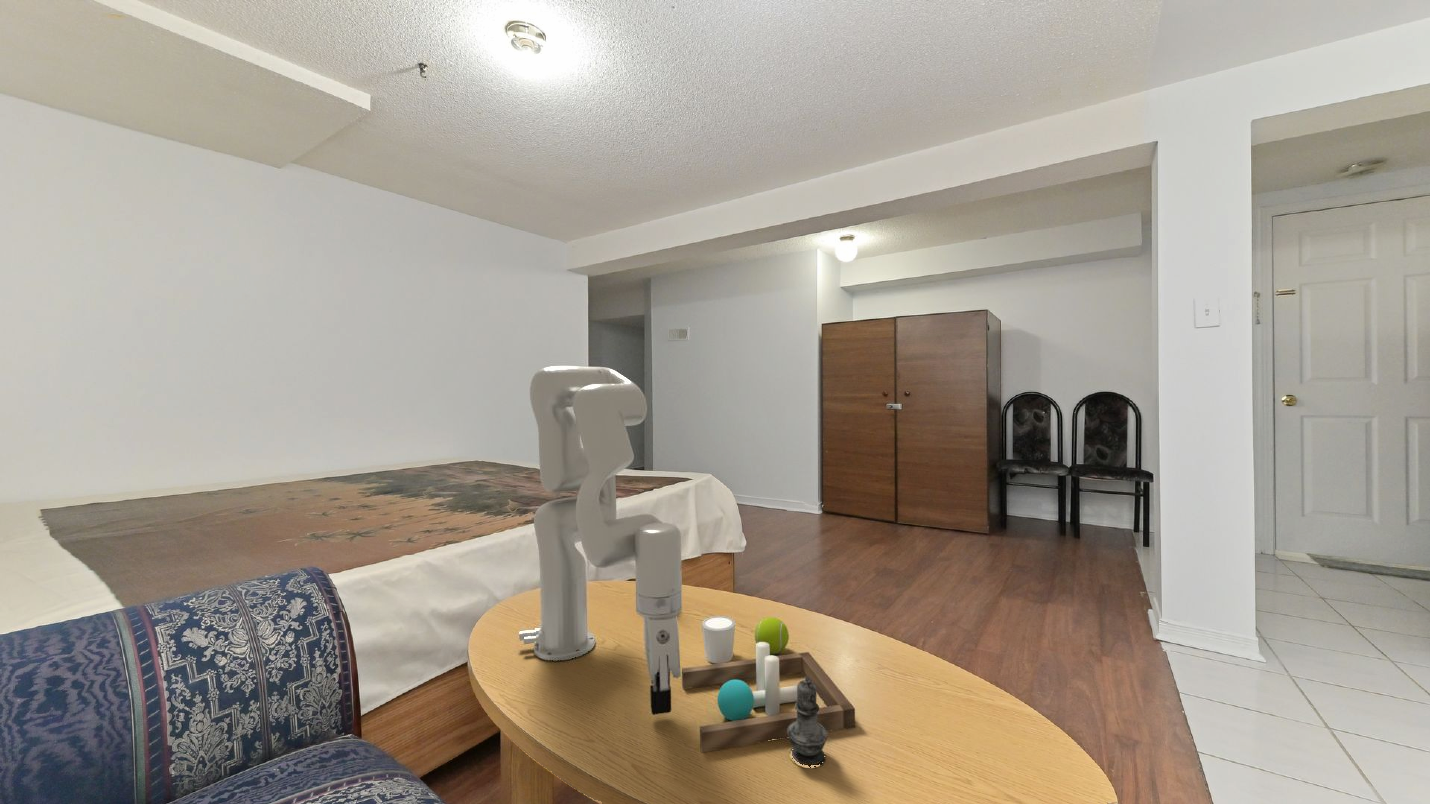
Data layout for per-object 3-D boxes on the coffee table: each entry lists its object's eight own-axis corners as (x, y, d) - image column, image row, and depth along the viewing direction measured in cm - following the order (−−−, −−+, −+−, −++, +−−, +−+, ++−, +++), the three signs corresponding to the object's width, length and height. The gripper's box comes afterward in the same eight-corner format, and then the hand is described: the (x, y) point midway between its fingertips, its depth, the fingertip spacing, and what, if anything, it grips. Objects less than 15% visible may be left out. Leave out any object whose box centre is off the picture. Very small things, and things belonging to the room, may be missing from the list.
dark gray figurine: (797, 774, 74) (796, 690, 74) (781, 747, 80) (780, 669, 80) (835, 765, 76) (834, 682, 76) (816, 739, 82) (815, 663, 82)
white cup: (732, 666, 104) (732, 631, 104) (698, 663, 105) (698, 628, 105) (738, 649, 111) (737, 616, 111) (706, 647, 112) (705, 614, 112)
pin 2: (767, 717, 88) (767, 663, 87) (763, 708, 90) (762, 656, 90) (781, 715, 88) (781, 661, 88) (776, 706, 90) (776, 654, 90)
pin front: (753, 697, 89) (803, 690, 91) (749, 688, 92) (798, 682, 94) (753, 711, 90) (803, 703, 92) (749, 701, 92) (798, 694, 94)
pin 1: (758, 700, 92) (758, 649, 92) (754, 692, 95) (754, 642, 95) (772, 698, 93) (771, 647, 93) (767, 690, 95) (767, 641, 95)
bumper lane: (701, 752, 79) (701, 732, 79) (682, 684, 98) (681, 668, 98) (855, 727, 85) (854, 708, 85) (808, 667, 103) (808, 652, 103)
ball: (753, 730, 86) (716, 729, 86) (750, 697, 91) (715, 696, 91) (757, 703, 84) (719, 702, 83) (753, 671, 89) (718, 670, 89)
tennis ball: (751, 658, 107) (750, 623, 107) (759, 642, 114) (759, 610, 114) (785, 663, 105) (784, 628, 105) (791, 647, 112) (791, 614, 111)
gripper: (689, 616, 81) (691, 735, 81) (675, 582, 95) (676, 683, 95) (639, 622, 79) (641, 743, 79) (633, 586, 93) (634, 689, 94)
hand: (661, 710), depth 87 cm, fingers closed
